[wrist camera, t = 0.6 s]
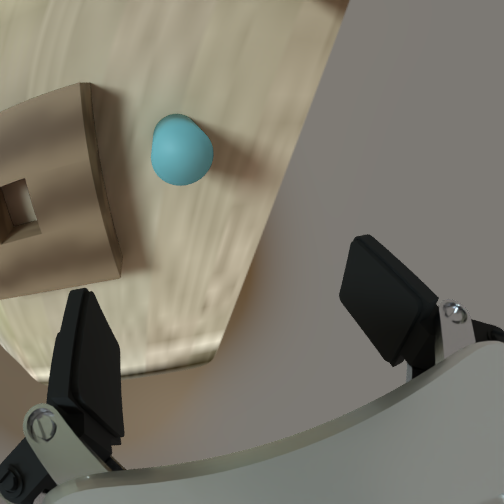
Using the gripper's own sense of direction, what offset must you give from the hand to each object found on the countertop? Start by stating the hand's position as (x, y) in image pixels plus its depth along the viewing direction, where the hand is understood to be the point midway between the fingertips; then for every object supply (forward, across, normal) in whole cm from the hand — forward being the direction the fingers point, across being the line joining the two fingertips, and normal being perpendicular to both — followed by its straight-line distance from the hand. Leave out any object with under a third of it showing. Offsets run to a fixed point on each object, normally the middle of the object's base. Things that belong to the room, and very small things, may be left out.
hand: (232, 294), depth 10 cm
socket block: (+22, +18, +1) cm, 28 cm away
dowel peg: (+22, 0, -2) cm, 22 cm away
